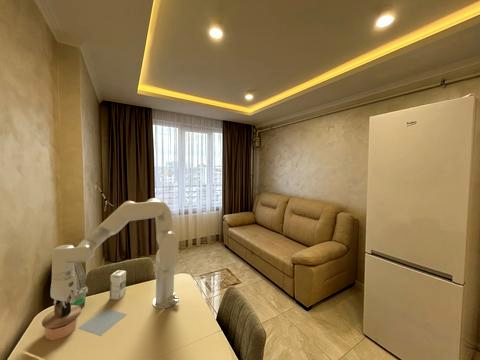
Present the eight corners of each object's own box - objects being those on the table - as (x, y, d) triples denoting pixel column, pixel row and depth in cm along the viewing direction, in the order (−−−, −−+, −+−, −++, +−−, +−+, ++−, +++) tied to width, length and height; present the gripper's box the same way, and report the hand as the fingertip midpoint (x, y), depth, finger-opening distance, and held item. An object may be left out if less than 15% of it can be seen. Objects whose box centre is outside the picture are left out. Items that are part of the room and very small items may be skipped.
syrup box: (116, 293, 117) (116, 269, 116) (125, 294, 116) (126, 270, 116) (109, 299, 111) (109, 274, 111) (119, 300, 111) (120, 275, 110)
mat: (127, 315, 99) (127, 314, 99) (100, 337, 86) (100, 335, 86) (105, 309, 103) (105, 308, 103) (77, 329, 90) (77, 327, 90)
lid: (87, 310, 92) (88, 298, 92) (55, 331, 80) (55, 317, 80) (68, 304, 96) (68, 292, 96) (34, 323, 83) (34, 310, 83)
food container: (69, 319, 95) (70, 299, 95) (59, 317, 96) (60, 297, 96) (93, 303, 107) (93, 285, 107) (84, 301, 108) (84, 284, 108)
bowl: (82, 325, 92) (82, 315, 91) (57, 343, 82) (57, 331, 82) (66, 320, 94) (66, 310, 94) (40, 337, 85) (40, 325, 84)
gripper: (85, 272, 89) (85, 312, 89) (59, 266, 93) (59, 304, 94) (67, 281, 82) (66, 324, 82) (40, 274, 86) (39, 315, 87)
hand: (62, 313), depth 88 cm, fingers closed on lid, 3 cm apart
